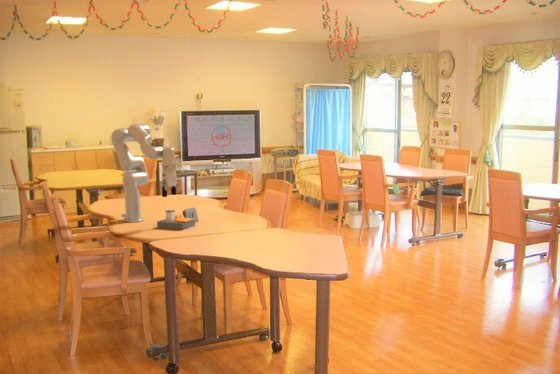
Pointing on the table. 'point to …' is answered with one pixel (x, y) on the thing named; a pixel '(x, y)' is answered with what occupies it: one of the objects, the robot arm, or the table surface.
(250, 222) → the table surface
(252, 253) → the table surface
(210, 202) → the table surface
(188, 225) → the socket housing
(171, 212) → the plug
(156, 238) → the table surface
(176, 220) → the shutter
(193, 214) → the electrical switch
